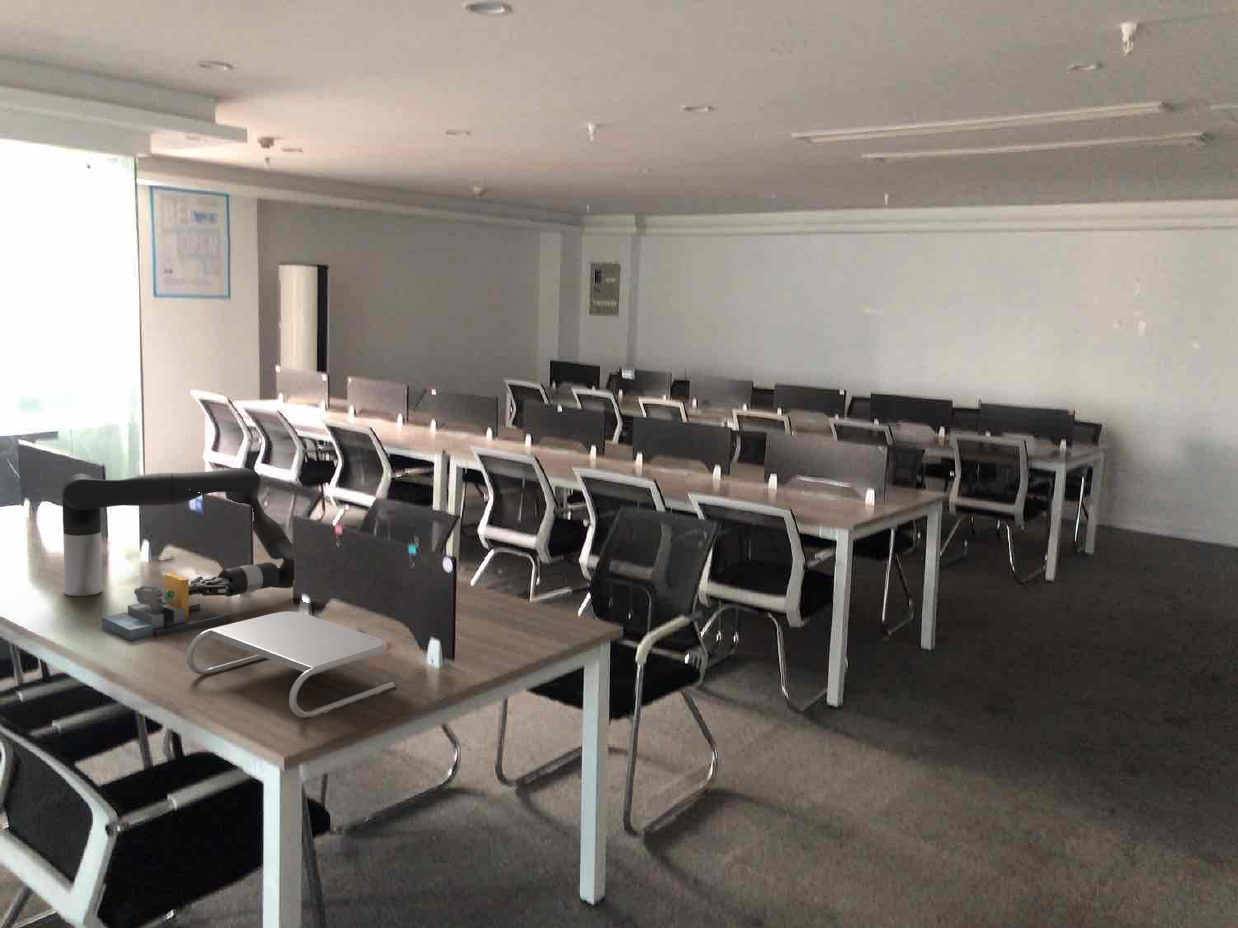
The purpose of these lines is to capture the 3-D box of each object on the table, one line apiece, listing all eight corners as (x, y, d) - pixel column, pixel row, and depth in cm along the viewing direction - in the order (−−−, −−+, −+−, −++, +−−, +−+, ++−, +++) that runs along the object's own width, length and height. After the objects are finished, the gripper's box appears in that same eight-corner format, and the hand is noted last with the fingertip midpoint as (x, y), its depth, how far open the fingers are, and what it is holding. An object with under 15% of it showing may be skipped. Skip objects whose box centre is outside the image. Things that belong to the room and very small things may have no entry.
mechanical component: (172, 629, 251) (168, 592, 249) (137, 626, 253) (132, 589, 251) (180, 624, 254) (175, 588, 252) (144, 621, 256) (139, 585, 254)
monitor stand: (396, 688, 222) (397, 642, 221) (291, 726, 199) (292, 675, 198) (290, 650, 243) (291, 607, 241) (184, 680, 220) (184, 633, 218)
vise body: (100, 627, 250) (100, 608, 249) (197, 607, 270) (197, 590, 270) (131, 642, 240) (131, 622, 240) (229, 620, 261) (229, 602, 260)
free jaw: (149, 619, 258) (149, 574, 256) (168, 615, 262) (168, 571, 260) (174, 629, 251) (173, 583, 249) (192, 625, 255) (192, 580, 253)
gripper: (255, 598, 268) (194, 611, 254) (227, 588, 275) (167, 600, 262) (255, 571, 266) (194, 583, 253) (227, 562, 274) (166, 572, 260)
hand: (180, 591), depth 257 cm, fingers closed
